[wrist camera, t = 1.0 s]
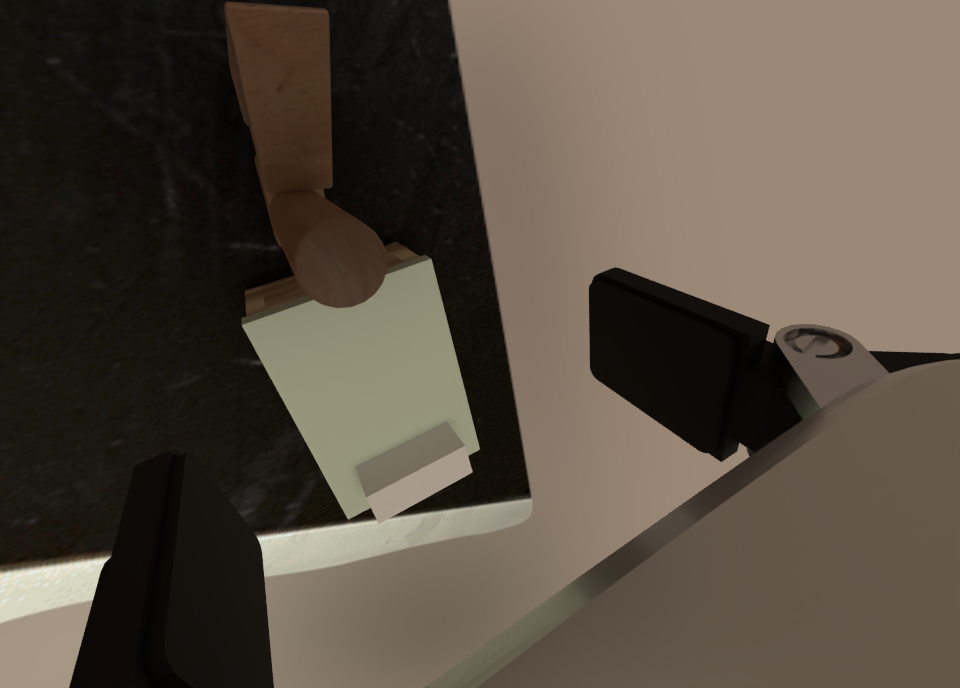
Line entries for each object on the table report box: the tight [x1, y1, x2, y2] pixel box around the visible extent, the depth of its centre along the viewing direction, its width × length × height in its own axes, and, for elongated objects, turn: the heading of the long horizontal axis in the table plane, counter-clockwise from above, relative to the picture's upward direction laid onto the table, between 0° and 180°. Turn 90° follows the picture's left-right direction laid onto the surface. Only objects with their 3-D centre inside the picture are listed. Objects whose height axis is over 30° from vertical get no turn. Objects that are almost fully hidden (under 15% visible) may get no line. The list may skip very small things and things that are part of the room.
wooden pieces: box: [224, 1, 387, 308], centre depth 22 cm, size 4×11×18 cm, turn 2°
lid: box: [242, 255, 480, 523], centre depth 31 cm, size 18×12×5 cm
